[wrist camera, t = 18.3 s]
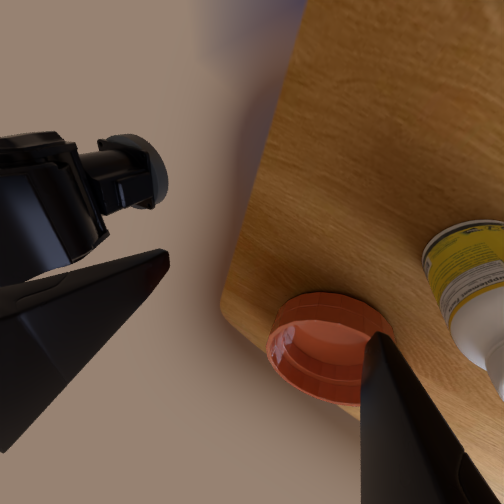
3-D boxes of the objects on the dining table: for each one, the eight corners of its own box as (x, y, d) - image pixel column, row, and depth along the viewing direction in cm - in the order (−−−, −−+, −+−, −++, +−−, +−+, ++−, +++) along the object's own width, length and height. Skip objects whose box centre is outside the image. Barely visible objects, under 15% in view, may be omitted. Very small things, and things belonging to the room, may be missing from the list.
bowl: (268, 342, 32) (257, 371, 28) (290, 272, 24) (280, 300, 21) (363, 383, 29) (364, 421, 26) (421, 318, 22) (435, 360, 18)
